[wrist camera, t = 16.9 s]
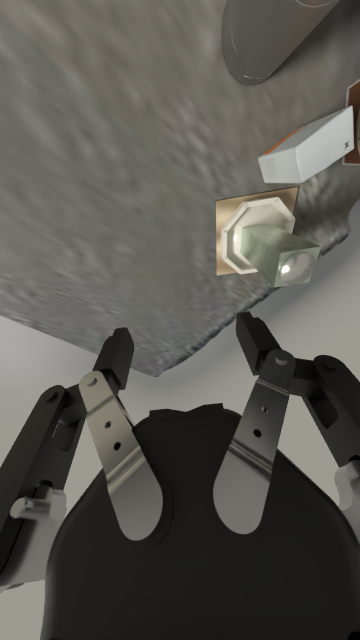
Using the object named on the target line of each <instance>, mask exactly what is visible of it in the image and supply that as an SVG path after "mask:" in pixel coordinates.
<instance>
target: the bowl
mask: <svg viewBox="0 0 360 640" xmlns="http://www.w3.org/2000/svg"><path fill="white" fill-rule="evenodd" d="M266 223H268V224H270V225H272V226H275V227H277V228H279V229H282V230H284V231H286V232H289V233H291V234H292V232H293V227H294V223H295V218H294V216H293V215H292V214H291V212H290V211H289V210H288V209H287V207H286V206H285V205H284V204H283V202H282V201H281V200H280V198H279V197H275V196H273V197H267V198H258V199H253V200H249V201H243V202H242V203H241V204H240V206H239V207H238V208H237V209H236V210H235V211H233V213H232V214H231V215H230V216H229V218H228V219H227V221H226V222H225V224H224V226H223V227H222V228H221V237H220V247H221V258H222V259H223V260H224V261H225V262H226V263H227V264H229V265H230V266H231V267H232V268H233V269H235V270H236V271H237V272H238V273H239V274H245V273H252V272H258V271H257V270H256V269H255V268H254V266H253V265H252V264H251V263H250V262H249V261H248V260H247V259H246V258H245V257H244V256H243V255H242V254H241V253H240V249H241V233H242V228H243V227H248V226H254V225H260V224H266Z"/></svg>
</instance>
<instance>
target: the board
mask: <svg viewBox="0 0 360 640" xmlns="http://www.w3.org/2000/svg"><path fill="white" fill-rule="evenodd" d="M297 191H298V187H294V188H288V189H282V190H277V191H271V192H265V193H259V194H253V195H248V196H242V197H236V198H230V199H224V200H219V201H216V246H217V275H223V274H230V273H237V271H236V270H235V269H233V268H232V267H231V266H230V265H229V264H227V263H226V262H225V261H224V260H223V259H222V258H221V247H220V237H221V228H222V227H223V226H224V224H225V222H226V221H227V219H228V218H229V216H230V215H231V214H232V213H233V211H235V210H236V209H237V208H238V207H239V206H240V204H241V203H242V202H243V201H249V200H253V199H258V198H267V197H273V196H275V197H279V198H280V200H281V201H282V202H283V204H284V205H285V206H286V207H287V209H288V210H289V211H290V212H291V214H293V209H294V205H295V200H296V196H297Z"/></svg>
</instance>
